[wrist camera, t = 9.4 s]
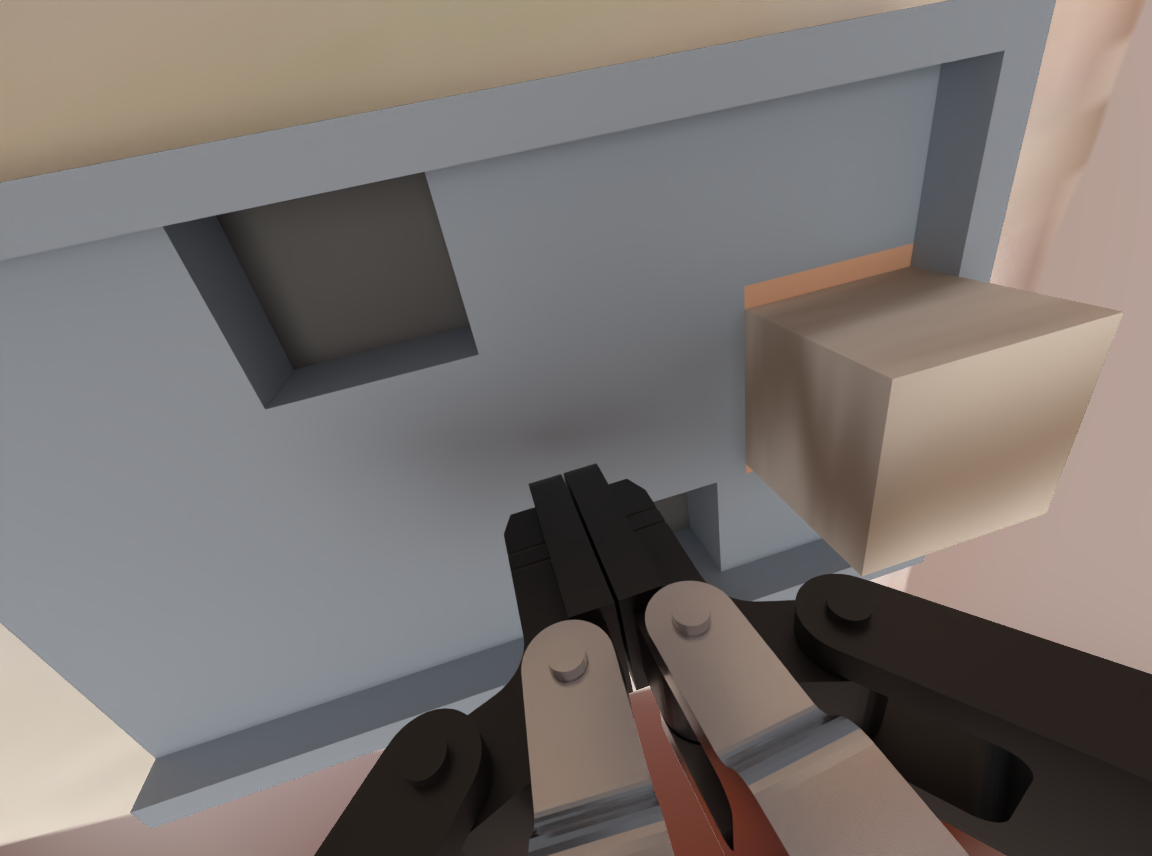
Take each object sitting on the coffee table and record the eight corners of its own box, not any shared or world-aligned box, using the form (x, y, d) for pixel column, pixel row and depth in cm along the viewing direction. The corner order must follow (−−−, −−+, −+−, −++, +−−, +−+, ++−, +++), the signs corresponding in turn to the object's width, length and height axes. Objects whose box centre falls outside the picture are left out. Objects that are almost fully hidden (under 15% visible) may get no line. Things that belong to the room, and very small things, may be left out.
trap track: (-198, 244, 11) (-565, 290, 7) (884, 31, 14) (1060, -21, 10) (211, 689, 18) (151, 829, 15) (836, 490, 22) (923, 561, 18)
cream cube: (744, 309, 13) (892, 379, 9) (910, 266, 14) (1123, 311, 9) (745, 463, 16) (861, 576, 11) (885, 421, 16) (1046, 513, 12)
